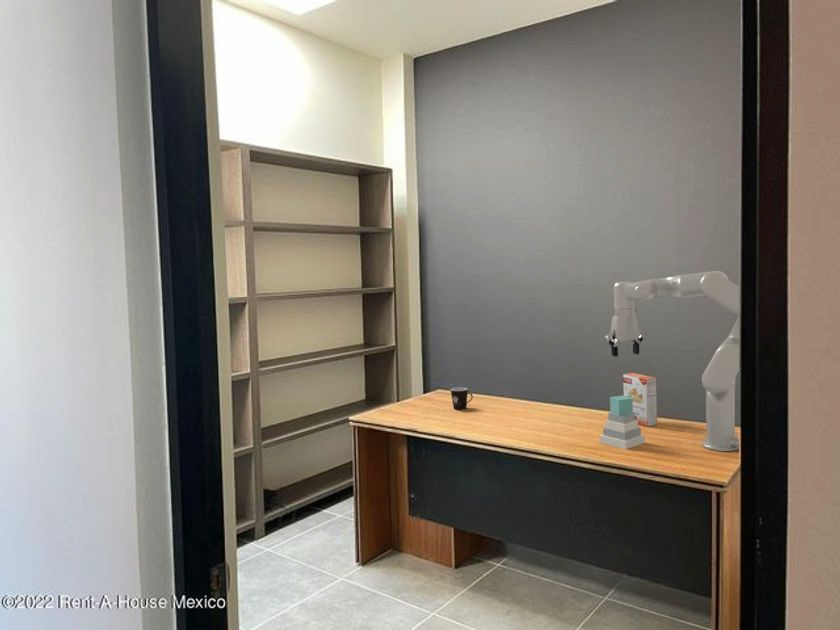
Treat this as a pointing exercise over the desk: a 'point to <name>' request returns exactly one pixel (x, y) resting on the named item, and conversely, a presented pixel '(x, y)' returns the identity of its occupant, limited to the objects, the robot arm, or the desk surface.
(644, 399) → the cracker box
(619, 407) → the small aqua cube
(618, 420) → the tower
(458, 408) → the coffee mug
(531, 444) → the desk surface
